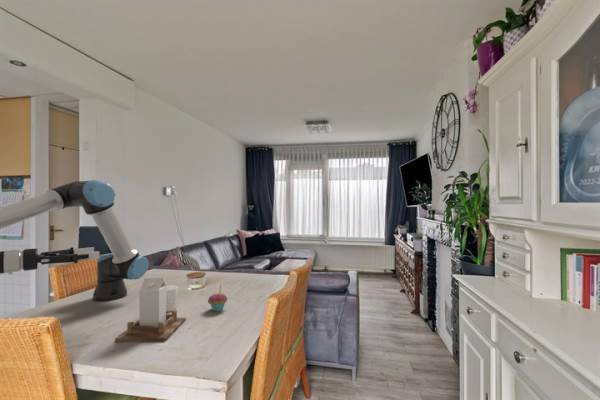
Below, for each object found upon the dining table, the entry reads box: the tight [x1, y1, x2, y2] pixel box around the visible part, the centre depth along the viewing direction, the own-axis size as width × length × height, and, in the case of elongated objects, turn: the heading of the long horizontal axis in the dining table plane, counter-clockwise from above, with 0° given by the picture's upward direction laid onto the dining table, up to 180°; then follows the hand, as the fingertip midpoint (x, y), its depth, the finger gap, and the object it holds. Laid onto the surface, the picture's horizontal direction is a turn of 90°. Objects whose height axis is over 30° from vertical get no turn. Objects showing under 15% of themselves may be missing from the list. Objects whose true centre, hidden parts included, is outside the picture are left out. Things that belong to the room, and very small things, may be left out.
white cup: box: [166, 284, 179, 313], centre depth 131 cm, size 8×8×10 cm
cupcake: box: [207, 284, 228, 312], centre depth 131 cm, size 9×8×12 cm
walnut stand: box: [114, 309, 187, 343], centre depth 109 cm, size 18×18×5 cm
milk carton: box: [138, 277, 167, 326], centre depth 109 cm, size 7×7×19 cm
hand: (96, 252), depth 113 cm, fingers open, 13 cm apart
